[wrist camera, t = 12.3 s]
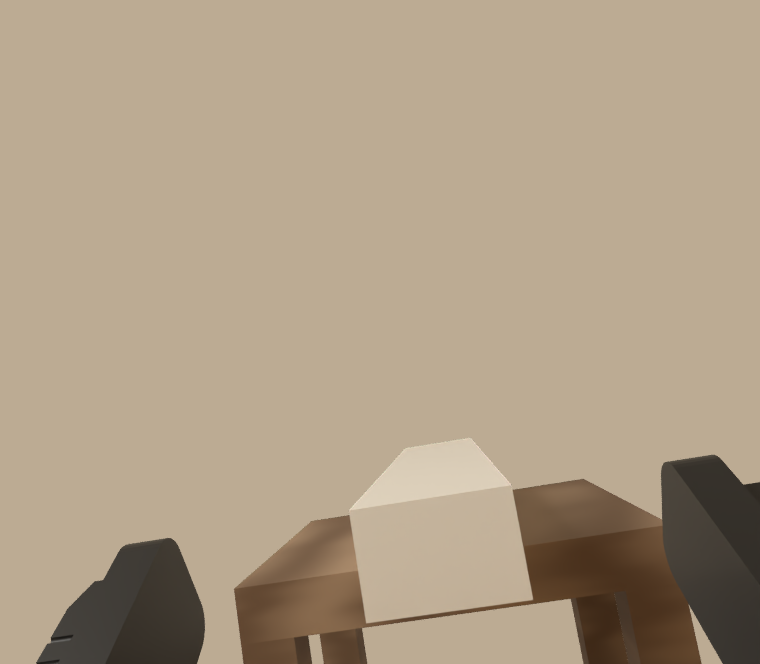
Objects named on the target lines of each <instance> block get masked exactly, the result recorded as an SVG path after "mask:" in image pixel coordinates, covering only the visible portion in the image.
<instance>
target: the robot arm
mask: <svg viewBox="0 0 760 664" xmlns="http://www.w3.org/2000/svg"><path fill="white" fill-rule="evenodd" d="M661 486H662V526H663V544H664V550H665V554H666V558H667V561H668V564H669V567H670V570H671V572H672V575H673V577H674V579H675V581H676V583H677V584H678V586H679V588H680V590H681V591H682V593H683V595H684V597H685V598H686V600H687V602H688V604H689V605H690V607H691V609H692V611H693V612H694V614H695V616H696V618H697V619H698V621H699V623H700V625H701V626H702V628H703V630H704V632H705V633H706V635H707V637H708V639H709V640H710V642H711V644H712V646H713V647H714V649H715V651H716V652H717V654H718V656H719V658H720V659H721V661H722V663H723V664H760V482H759V483H752V484H746V485H743V484H742V483H741V482H740V480H739V479H738V478H737V477H736V476H735V475H734V474H733V472H732V471H731V470H730V469H729V468H728V467H727V466H726V464H725V463H724V462H723V461H722V460H721V459H720V458H719V457H718V456H716V455H708V456H702V457H695V458H689V459H683V460H677V461H670V462H665V463H664V464H663V466H662V470H661ZM204 632H205V620H204V613H203V608H202V604H201V602H200V599H199V597H198V594H197V592H196V589H195V587H194V584H193V582H192V579H191V577H190V574H189V572H188V569H187V567H186V564H185V562H184V559H183V557H182V554H181V552H180V549H179V547H178V545H177V544H176V542H175V541H174V540H173V539H171V538H166V539H159V540H153V541H147V542H140V543H134V544H128V545H125V546H123V547H122V548H121V549H120V551H119V552H118V554H117V556H116V558H115V560H114V561H113V563H112V565H111V567H110V569H109V571H108V573H107V575H106V576H105V578H104V580H102V581H95V582H94V583H93V584H92V585H91V586H90V587H89V588H88V589H87V590H86V591H85V592H84V593H83V594H82V595H81V596H80V597H79V598H78V599H77V600H76V601H75V602H74V603H73V604H72V605H71V606H70V607H69V608H68V609H67V611H66V613H65V614H64V616H63V618H62V619H61V621H60V623H59V625H58V626H57V628H56V630H55V631H54V633H53V635H52V637H51V643H50V644H47V645H46V647H45V649H44V650H43V652H42V654H41V656H40V657H39V659H38V661H37V662H36V663H37V664H197V662H198V658H199V655H200V652H201V649H202V645H203V640H204Z"/></svg>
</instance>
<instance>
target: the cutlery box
mask: <svg viewBox="0 0 760 664" xmlns="http://www.w3.org/2000/svg"><path fill="white" fill-rule="evenodd" d="M349 514H350V522H351V528H352V535H353V541H354V548H355V554H356V561H357V567H358V573H359V580H360V586H361V593H362V599H363V606H364V612H365V619H366V623H373V622H380V621H387V620H394V619H401V618H408V617H415V616H423V615H430V614H437V613H444V612H451V611H458V610H465V609H472V608H479V607H486V606H494V605H501V604H508V603H515V602H522V601H529V600H533V596H532V591H531V586H530V580H529V575H528V570H527V564H526V559H525V554H524V548H523V543H522V538H521V533H520V527H519V522H518V517H517V511H516V506H515V501H514V495H513V490H512V485H511V484H510V483H509V482H508V480H507V479H506V478H505V477H504V476H503V475H502V474H501V472H500V471H499V470H498V469H497V468H496V467H495V465H494V464H493V463H492V462H491V461H490V460H489V459H488V457H487V456H486V455H485V454H484V453H483V452H482V450H481V449H480V448H479V447H478V446H477V444H476V443H475V442H474V441H473V440H472V439H471V438H466V439H459V440H453V441H447V442H440V443H435V444H428V445H422V446H416V447H410V448H405V449H404V450H403V451H402V453H401V454H400V455H399V456H398V457H397V458H396V459H395V460H394V461H393V463H392V464H391V465H390V466H389V467H388V468H387V469H386V470H385V471H384V472H383V474H382V475H381V476H380V477H379V478H378V479H377V480H376V481H375V482H374V483H373V484H372V486H371V487H370V488H369V489H368V490H367V491H366V492H365V493H364V494H363V495H362V496H361V498H360V499H359V500H358V501H357V502H356V503H355V504H354V505H353V506H352V507H351V509H350V510H349Z"/></svg>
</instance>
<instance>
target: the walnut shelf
mask: <svg viewBox="0 0 760 664" xmlns="http://www.w3.org/2000/svg"><path fill="white" fill-rule="evenodd" d="M513 495H514V501H515V506H516V511H517V517H518V522H519V527H520V533H521V538H522V543H523V548H524V554H525V559H526V564H527V570H528V575H529V580H530V586H531V591H532V596H533V600H529V601H522V602H515V603H508V604H501V605H494V606H486V607H479V608H472V609H465V610H458V611H451V612H444V613H437V614H430V615H423V616H415V617H408V618H401V619H394V620H387V621H380V622H373V623H366V619H365V612H364V606H363V599H362V593H361V586H360V580H359V573H358V567H357V561H356V554H355V548H354V541H353V535H352V528H351V522H350V515H348V516H341V517H335V518H329V519H322V520H316V521H311V522H310V523H309V524H308V525H307V526H306V527H304V528H303V529H302V530H301V531H300V532H299V533H298V534H296V535H295V536H294V537H293V538H292V539H291V540H289V541H288V542H287V543H286V544H285V545H284V546H283V547H281V548H280V549H279V550H278V551H277V552H276V553H275V554H273V555H272V556H271V557H270V558H269V559H268V560H267V561H266V562H264V563H263V564H262V565H261V566H260V567H259V568H257V569H256V570H255V571H254V572H253V573H252V574H251V575H249V576H248V577H247V578H246V579H245V580H244V581H243V582H242V583H240V584H239V585H238V586H237V587H236V588H235V589H234V592H235V600H236V608H237V616H238V623H239V631H240V639H241V647H242V654H243V662H244V664H312V660H311V653H310V646H309V639H308V635H314V634H320V639H321V646H322V654H323V660H324V664H367V659H366V653H365V646H364V639H363V633H362V628H365V627H372V626H379V625H386V624H393V623H400V622H407V621H415V620H421V619H429V618H436V617H443V616H450V615H457V614H464V613H472V612H478V611H486V610H492V609H500V608H507V607H513V606H521V605H529V604H536V603H543V602H550V601H556V600H564V599H571V602H572V607H573V612H574V617H575V622H576V627H577V632H578V637H579V643H580V647H581V652H582V658H583V662H584V664H701V660H700V655H699V650H698V645H697V641H696V636H695V632H694V627H693V623H692V618H691V614H690V609H689V605H688V602H687V600H686V598H685V597H684V595H683V593H682V591H681V590H680V588H679V586H678V584H677V583H676V581H675V579H674V577H673V575H672V572H671V570H670V567H669V564H668V561H667V558H666V554H665V550H664V544H663V526H662V520H661V519H660V518H658V517H656V516H654V515H652V514H650V513H648V512H646V511H644V510H642V509H640V508H638V507H636V506H634V505H633V504H631V503H629V502H627V501H625V500H623V499H621V498H619V497H617V496H615V495H613V494H611V493H609V492H607V491H606V490H604V489H602V488H600V487H598V486H596V485H594V484H592V483H590V482H588V481H586V480H584V479H580V480H574V481H567V482H561V483H555V484H548V485H541V486H535V487H529V488H523V489H516V490H513ZM614 594H615V595H614ZM615 599H616V600H615ZM616 604H617V605H616ZM617 609H618V610H617ZM621 628H622V629H621ZM622 633H623V634H622ZM623 638H624V639H623ZM624 643H625V644H624Z"/></svg>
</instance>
